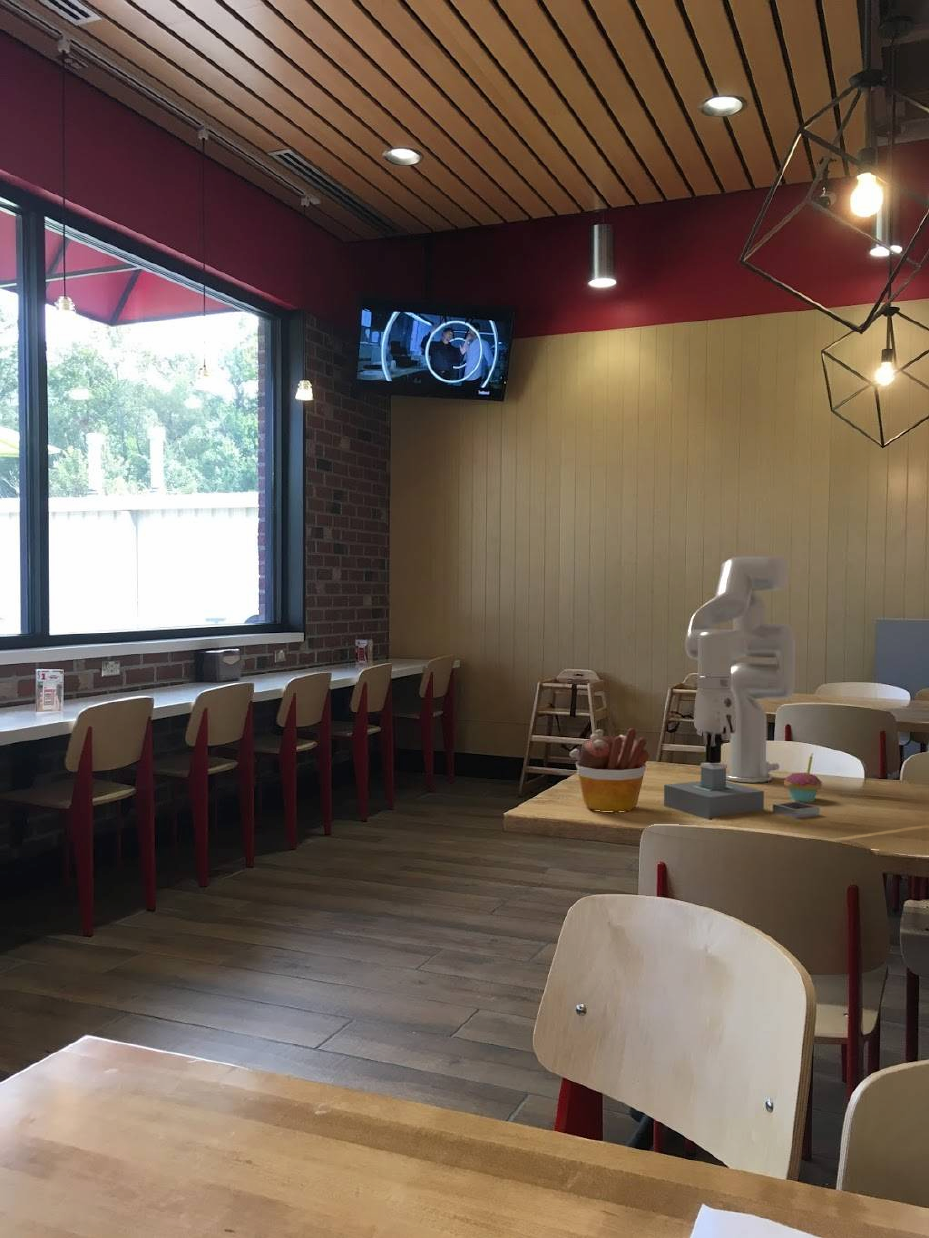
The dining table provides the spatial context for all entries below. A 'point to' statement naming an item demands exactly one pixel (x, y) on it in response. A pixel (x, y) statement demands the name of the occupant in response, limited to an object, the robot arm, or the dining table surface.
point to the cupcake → (803, 785)
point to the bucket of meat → (611, 770)
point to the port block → (712, 799)
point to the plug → (713, 776)
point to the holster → (796, 809)
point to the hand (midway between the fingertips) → (713, 762)
